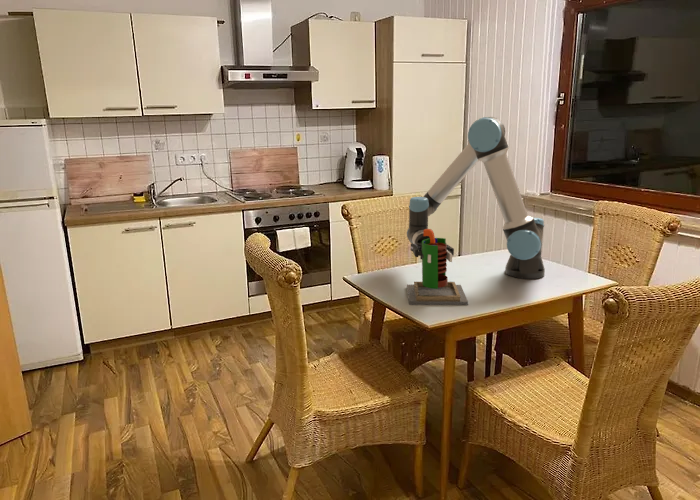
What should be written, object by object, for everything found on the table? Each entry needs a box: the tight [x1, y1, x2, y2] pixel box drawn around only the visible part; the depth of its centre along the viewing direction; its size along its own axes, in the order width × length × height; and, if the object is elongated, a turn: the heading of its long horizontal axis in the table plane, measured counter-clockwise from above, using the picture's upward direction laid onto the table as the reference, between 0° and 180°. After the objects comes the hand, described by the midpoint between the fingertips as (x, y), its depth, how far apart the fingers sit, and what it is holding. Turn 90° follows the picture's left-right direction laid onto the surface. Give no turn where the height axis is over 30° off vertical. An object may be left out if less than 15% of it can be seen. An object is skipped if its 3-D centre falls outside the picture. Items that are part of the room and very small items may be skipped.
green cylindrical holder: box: [421, 228, 449, 289], centre depth 186 cm, size 10×9×20 cm
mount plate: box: [406, 281, 469, 306], centre depth 189 cm, size 20×18×3 cm
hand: (440, 258), depth 181 cm, fingers closed on green cylindrical holder, 7 cm apart
